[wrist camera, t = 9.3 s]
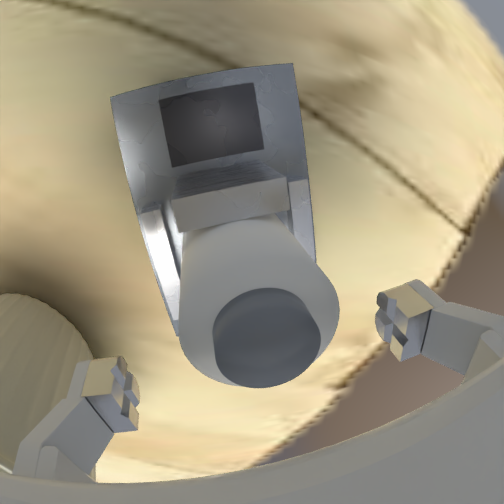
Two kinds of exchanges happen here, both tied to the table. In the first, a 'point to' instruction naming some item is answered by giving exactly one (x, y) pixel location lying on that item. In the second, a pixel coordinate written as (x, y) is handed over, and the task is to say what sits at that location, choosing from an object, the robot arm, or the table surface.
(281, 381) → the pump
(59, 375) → the canister
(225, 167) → the grey holder stand
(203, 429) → the table surface
